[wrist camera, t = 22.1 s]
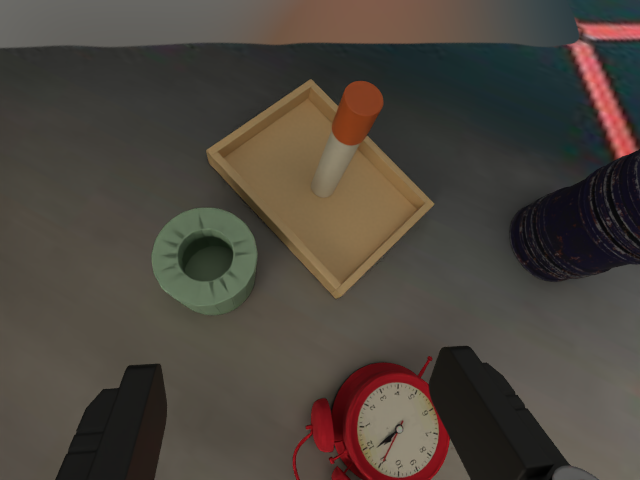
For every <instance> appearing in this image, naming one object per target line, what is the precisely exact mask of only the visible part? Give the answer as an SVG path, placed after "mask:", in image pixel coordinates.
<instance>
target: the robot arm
mask: <svg viewBox="0 0 640 480" xmlns="http://www.w3.org/2000/svg"><path fill="white" fill-rule="evenodd" d="M429 393H430V397H431V400H432V403H433V405H434V407H435V409H436V411H437V413H438V415H439V417H440V419H441V421H442V423H443V425H444V427H445V429H446V431H447V433H448V435H449V437H450V439H451V441H452V443H453V445H454V447H455V449H456V451H457V453H458V455H459V457H460V459H461V461H462V463H463V465H464V467H465V469H466V471H467V473H468V475H469V477H470V479H471V480H599V479H597V478H596V477H595V476H593V475H592V474H590V473H589V472H587V471H585V470H583V469H580V468H578V467H574V466H571V465H570V464H569V463H568V462H567V461H566V459H565V458H564V457H563V455H562V454H561V453H560V451H559V450H558V449H557V447H556V446H555V445H554V443H553V442H552V441H551V439H550V438H549V437H548V435H547V434H546V433H545V431H544V430H543V429H542V427H541V426H540V425H539V423H538V422H537V421H536V419H535V418H534V417H533V415H532V414H531V413H530V411H529V410H528V409H526V408H525V405H524V403H523V402H522V401H521V399H520V398H519V397H518V395H515V391H514V390H513V389H512V387H511V386H510V384H509V383H508V382H507V380H506V379H505V378H504V376H503V375H501V374H500V373H499V372H498V371H496V370H495V369H494V368H493V367H492V366H490V365H489V364H488V363H482V362H481V361H480V359H479V358H478V357H477V355H476V354H475V352H474V351H473V350H472V349H471V348H470V347H469V346H453V347H443V348H442V349H441V350H440V352H439V355H438V358H437V361H436V364H435V366H434V369H433V372H432V375H431V378H430V381H429ZM166 417H167V400H166V393H165V387H164V381H163V374H162V368H161V365H160V364H145V365H130V366H128V367H127V368H126V370H125V373H124V376H123V378H122V381H121V384H120V387H119V388H114V389H103V390H102V391H101V392H100V393H99V395H98V396H97V397H96V398H95V399H94V400H93V401H92V402H91V403H90V405H89V406H88V407H87V408H86V410H85V412H84V414H83V416H82V419H81V421H80V423H79V426H78V428H77V430H76V431H77V432H76V435H74V437H73V440H72V442H71V444H70V447H69V449H68V454H66V456H65V458H64V461H63V463H62V465H61V468H60V470H59V472H58V475H57V477H56V479H55V480H154V478H155V473H156V468H157V463H158V459H159V454H160V449H161V444H162V439H163V435H164V430H165V425H166Z"/></svg>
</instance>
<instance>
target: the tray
mask: <svg viewBox="0 0 640 480" xmlns="http://www.w3.org/2000/svg"><path fill="white" fill-rule="evenodd" d="M337 109H338V106H337V105H336V104H335V103H334V102H333V101H332V100H331V99H330V98H329V97H328V96H327V95H326V94H325V93H324V92H323V91H322V90H321V89H320V88H319V86H318V85H317V84H315V83H314V82H313V81H312V80H311V79H310V80H309V81H307V82H306V83H304V84H303V85H301V86H300V87H298V88H297V89H296V90H294V91H293V92H291V93H290V94H288V95H287V96H285V97H284V98H282V99H281V100H279V101H278V102H276V103H275V104H274V105H272V106H271V107H269V108H268V109H266V110H265V111H263V112H262V113H260V114H259V115H257V116H256V117H254V118H253V119H252V120H250V121H249V122H247V123H246V124H244V125H243V126H241V127H240V128H238V129H237V130H235V131H234V132H232V133H231V134H230V135H228V136H227V137H225V138H224V139H222V140H221V141H219V142H218V143H216V144H215V145H213V146H212V147H210V148H209V149H208V150H206V151H207V156H208V161H209V163H210V165H211V166H212V167H213V168H214V169H215V170H216V171H217V172H218V173H219V174H220V175H221V176H222V177H223V178H224V180H225V181H226V182H227V183H228V184H229V185H230V186H231V187H232V188H233V189H234V190H235V191H236V192H237V194H238V195H239V196H240V197H241V198H242V199H243V200H244V201H245V202H246V203H247V204H248V205H249V206H250V207H251V209H252V210H253V211H254V212H255V213H256V214H257V215H258V216H259V217H260V218H261V219H262V220H263V221H264V223H265V224H266V225H267V226H268V227H269V228H270V229H271V230H272V231H273V232H274V233H275V234H276V235H277V236H278V238H279V239H280V240H281V241H282V242H283V243H284V244H285V245H286V246H287V247H288V248H289V249H290V250H291V252H292V253H293V254H294V255H295V256H296V257H297V258H298V259H299V260H300V261H301V262H302V263H303V264H304V265H305V267H306V268H307V269H308V270H309V271H310V272H311V273H312V274H313V275H314V276H315V277H316V278H317V279H318V281H319V282H320V283H321V284H322V285H323V286H324V287H325V288H326V289H327V290H328V291H329V292H330V293H331V294H332V296H333V297H334V298H335V299H337V298H339V297H341V296H342V295H343V294H344V293H345V292H346V291H347V290H348V289H349V288H351V287H352V286H353V285H354V284H355V283H356V282H357V281H358V280H359V279H360V278H361V277H362V276H363V275H364V274H365V273H366V272H367V271H368V270H369V269H370V268H371V267H372V266H373V265H374V264H375V263H376V262H377V261H378V260H379V259H380V258H381V257H382V256H383V255H384V254H385V253H386V252H387V251H388V250H389V249H390V248H391V247H392V246H393V245H394V244H395V243H396V242H397V241H398V240H399V239H400V238H401V237H402V236H403V235H404V234H405V233H406V232H407V231H408V230H409V229H410V228H411V227H412V226H413V225H414V224H415V223H416V222H417V221H418V220H419V219H420V218H421V217H422V216H423V215H424V214H425V213H426V212H427V211H428V210H429V209H430V208H431V207H432V206H433V205H434V203H433V202H432V201H431V200H430V199H429V198H428V197H427V196H426V195H425V194H424V193H423V192H422V191H421V190H420V189H419V188H418V187H417V186H416V185H415V184H414V183H413V182H412V181H411V180H410V179H409V178H408V177H407V176H406V175H405V174H404V173H403V172H402V171H401V170H400V169H399V167H398V166H397V165H396V164H395V163H394V162H393V161H392V160H391V159H390V158H389V157H388V156H387V155H386V154H385V153H384V152H383V151H382V150H381V149H380V148H379V147H378V146H377V145H376V144H375V143H374V142H373V141H372V140H371V139H370V138H369V137H368V136H366V138H365V139H364V141H363V142H361V143H360V145H359V146H358V148H357V150H356V152H355V154H354V156H353V157H352V159H351V161H350V163H349V165H348V166H347V168H346V170H345V172H344V174H343V176H342V177H341V179H340V181H339V183H338V185H337V187H336V188H335V190H334V192H333V194H332V195H330V196H329V197H325V198H322V197H319V196H317V195H315V194H314V193H313V191H312V189H311V183H312V180H313V177H314V175H315V172H316V170H317V167H318V164H319V162H320V159H321V157H322V154H323V151H324V149H325V146H326V143H327V141H328V138H329V136H330V133H331V130H332V123H333V120H334V117H335V115H336V112H337Z"/></svg>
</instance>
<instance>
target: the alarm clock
mask: <svg viewBox="0 0 640 480" xmlns="http://www.w3.org/2000/svg"><path fill="white" fill-rule="evenodd" d="M427 359H428V360H427V362H426V364H425V365H424V367H423V368H422V369H421V371H420V373H419V374H418V376H417V375H416V374H415V373H413V372H412V371H410V370H409V369H407V368H405V367H403V366H400V365H397V364H392V363H374V364H370V365H367V366H365V367H362V368H360V369H359V370H357V371H356V372H354V373H353V374H352V375H351V376H350V377H349V378H348V379H347V380H346V381H345V382H344V384H343V385H342V386H341V388H340V390H339V392H338V394H337V396H336V398H335V401H334V405H333V409H332V416H331V410H330V407H329V403H328V401H327V399H325V398H322V399H319V400H317V401H316V402H315V403H314V404H313V407H312V412H311V425H307V426H306V429H311V432H310V434H308V435H307V436H306V437H304V438H303V439H302V440H301V442H300V443H299V444H298V445H297V447H296V449H295V451H294V455H293V469H294V474H295V477H296V480H300V479H299V476H298V473H297V469H296V455H297V452H298V450H299V448H300V446H301V445H302V444H303V443H304V442H305V441H306V440H307V439H308V438H309V437H310V436H311V435H312V434H313V437H314V441H315V443H316V445H317V447H318V449H319V450H320V451H323V452H332V451H333V450H334V444H335V447H336V450H337V452H338V454H339V455H337V456H336V457H334V458H332V457H330V458H329V460H330V462H331V464H334V463H335V462H334V460H336V459H338V458H339V457H341V459H342V461H343V462H344V464H345V465H346V466H347V469H346V470H345V471H344V472H343V471H342V470H341V469H340V468H339V467H338V466H337V467H336V468H335V469H334V471H333V473H332V480H351V479H350V478H349V477H348V476H347V475H346V474H345V473H346V472H347V470H348V469H350V470H351V471H352V472H353V473H354V474H355V475H356V476H358V477H359V478H361V479H362V480H430V479H431V478H432V477H433V476H434V475H435V474H436V473H437V472H438V471H439V469H440V467H441V466H442V464H443V462H444V460H445V457H446V455H447V452H448V447H449V441H450V437H449V435H448V433H447V431H446V429H445V427H444V425H443V423H442V421H441V419H440V417H439V415H438V413H437V411H436V409H435V407H434V405H433V403H432V400H431V397H430V393H429V384H428V383H427V382H425V381H424V380H423V379H421V376H422V375H423V373H424V371H425V369H426V367H427V365H428V364H429V362H430V361H432V357H430V356H428V358H427Z"/></svg>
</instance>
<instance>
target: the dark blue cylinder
mask: <svg viewBox="0 0 640 480" xmlns="http://www.w3.org/2000/svg"><path fill="white" fill-rule="evenodd" d="M510 242H511V246H512V249H513V251H514V254H515V256H516V257H517V259H518V261H519V262H520V263H521V265H522V266H523V267H524V268H525V269H526V270H527V271H528V272H530V273H531V274H532V275H534V276H536V277H537V278H539V279H542V280H545V281H550V282H558V281H563V280H567V279H577V278H583V277H587V276H591V275H596V274H599V273H603V272H606V271H608V270H610V269H611V268H614V267H618V266H623V265H627V264H640V149H639V150H638V151H635V152H633V153H631V154H629V155H626V156H623V157H621V158H619V159H617V160H615V161H613V162H611V163H609V164H607V165H606V166H603V167H601V168H599V169H597V170H596V171H594V172H593V173H592V174H590V175H589V176H588V177H587V178H586V179H585V180H583V181H581V182H579V183H577V184H575V185H573V186H571V187H565V188H562V189H559V190H557V191H555V192H553V193H550V194H548V195H546V196H544V197H542V198H540V199H538V200H537V201H535V202H534V203H532V204H531V205H528V206H526V207H524V208H522V209H521V210H520V211H518V212H517V214H516V215H515V216H514V218H513V220H512V223H511V226H510Z"/></svg>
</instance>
